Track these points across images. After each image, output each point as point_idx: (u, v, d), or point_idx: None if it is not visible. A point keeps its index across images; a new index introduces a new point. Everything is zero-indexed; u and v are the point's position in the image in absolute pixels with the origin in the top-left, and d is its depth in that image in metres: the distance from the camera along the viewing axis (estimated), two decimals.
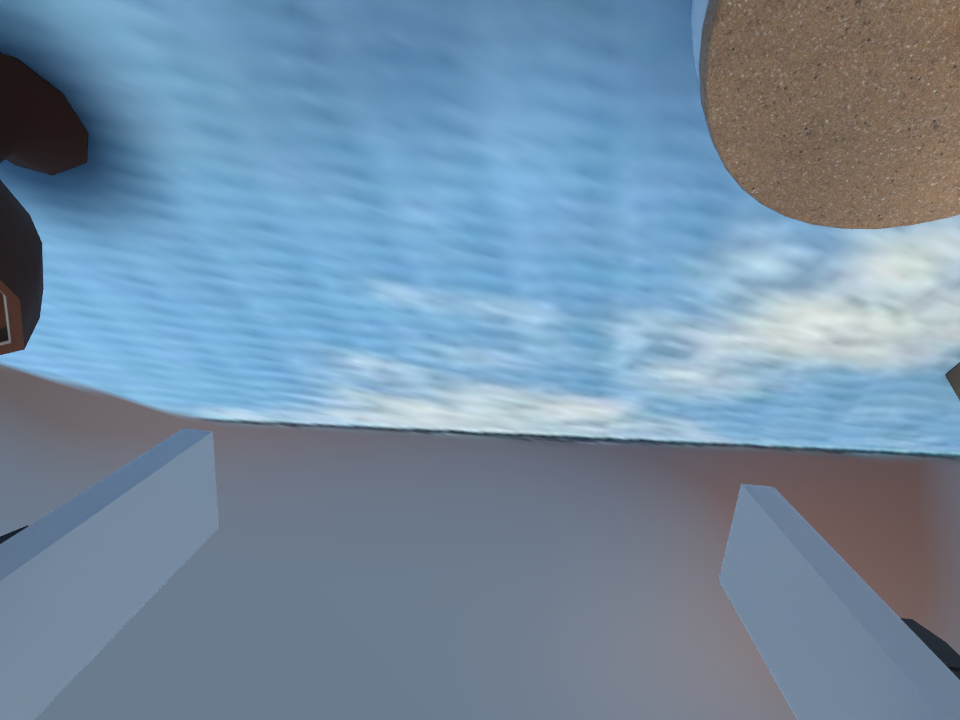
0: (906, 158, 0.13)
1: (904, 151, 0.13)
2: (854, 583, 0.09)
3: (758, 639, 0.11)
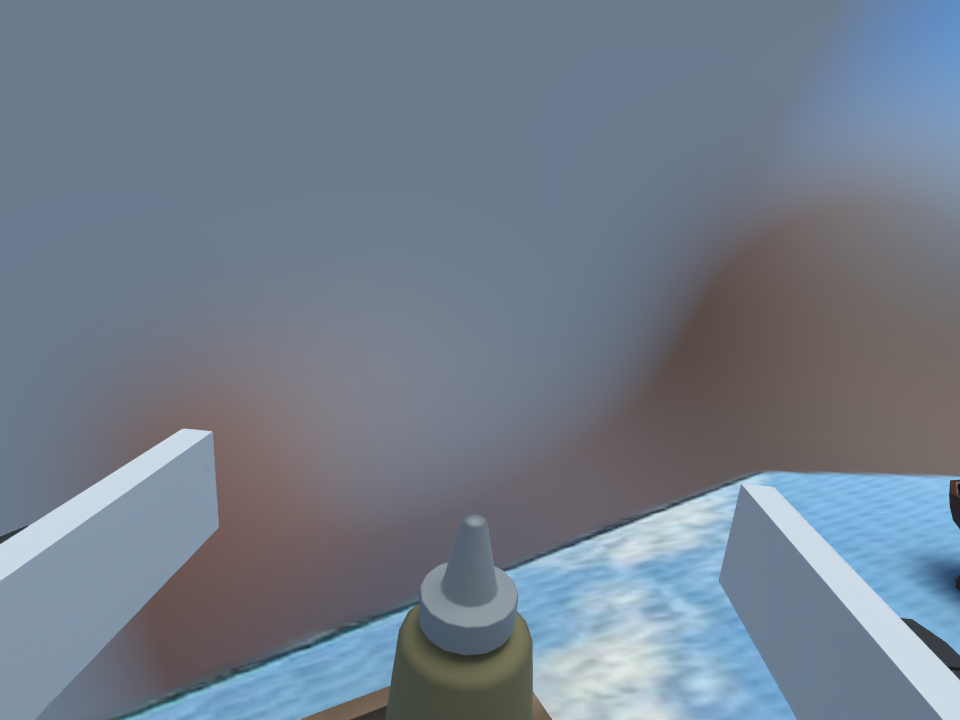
0: None
1: None
2: (854, 583, 0.09)
3: (758, 639, 0.11)
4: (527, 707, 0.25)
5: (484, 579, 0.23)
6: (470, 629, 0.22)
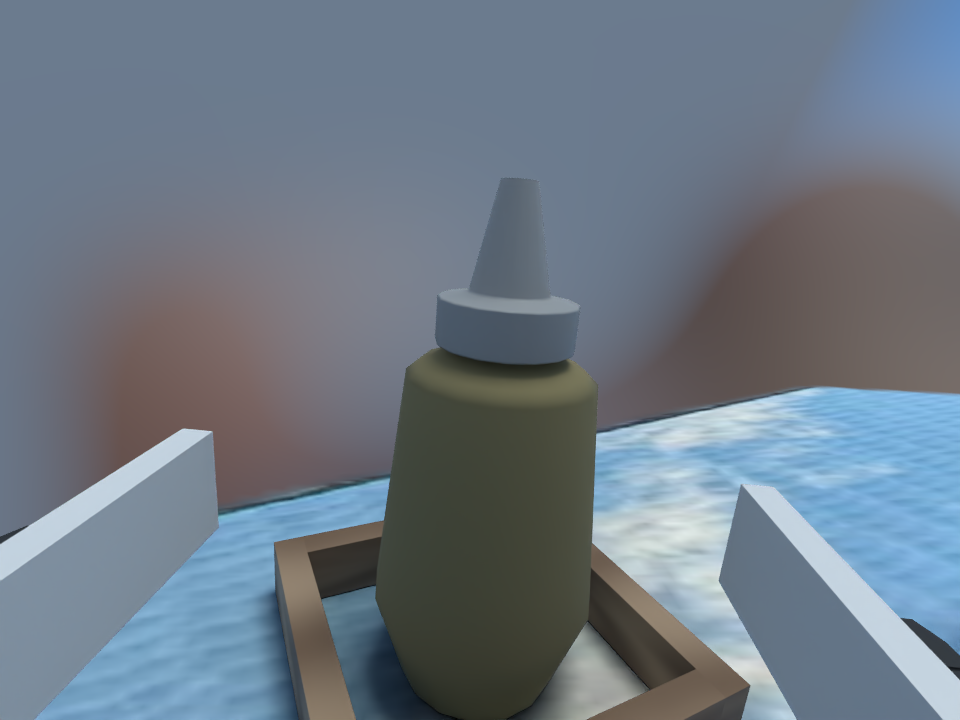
0: None
1: None
2: (854, 583, 0.09)
3: (758, 640, 0.11)
4: (592, 470, 0.17)
5: (534, 261, 0.16)
6: (515, 316, 0.15)
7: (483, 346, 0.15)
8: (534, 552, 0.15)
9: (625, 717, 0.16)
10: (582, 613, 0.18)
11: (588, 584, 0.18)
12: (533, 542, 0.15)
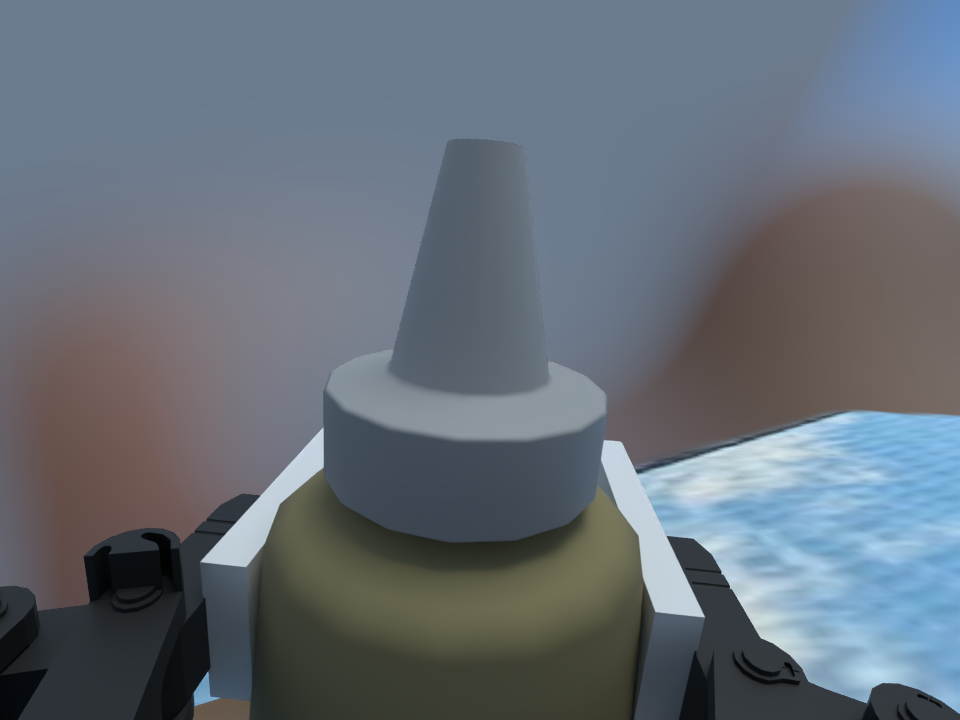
0: None
1: None
2: (642, 507, 0.11)
3: None
4: (632, 715, 0.09)
5: (516, 315, 0.08)
6: (471, 447, 0.07)
7: (403, 506, 0.07)
8: None
9: None
10: None
11: None
12: None
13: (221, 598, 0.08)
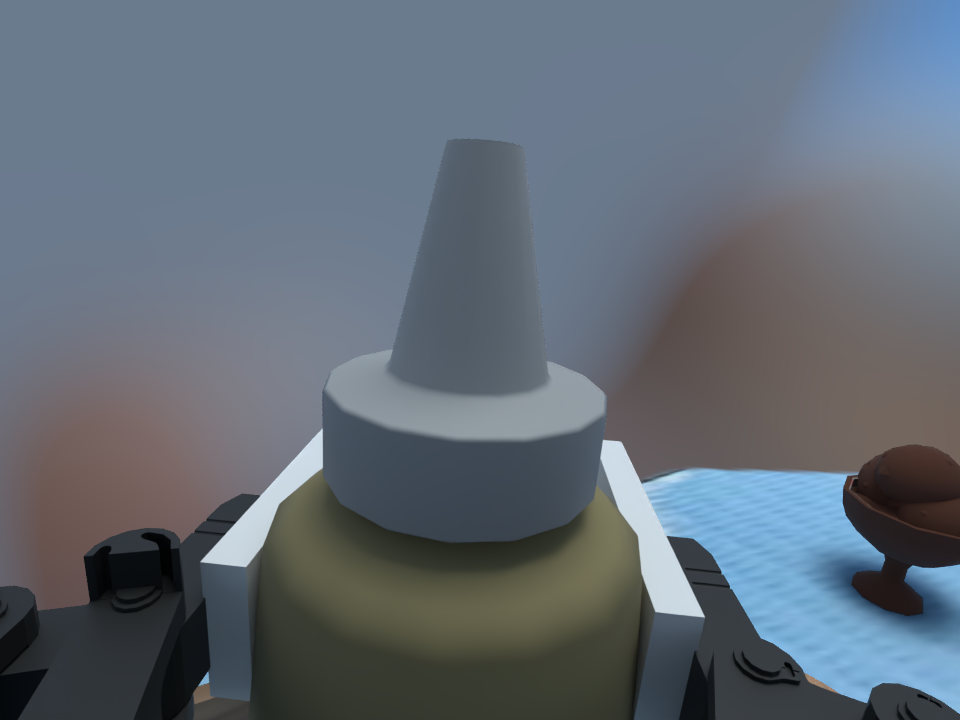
0: None
1: None
2: (642, 507, 0.11)
3: None
4: (631, 716, 0.09)
5: (515, 316, 0.08)
6: (470, 447, 0.07)
7: (402, 506, 0.07)
8: None
9: None
10: None
11: None
12: None
13: (221, 598, 0.08)
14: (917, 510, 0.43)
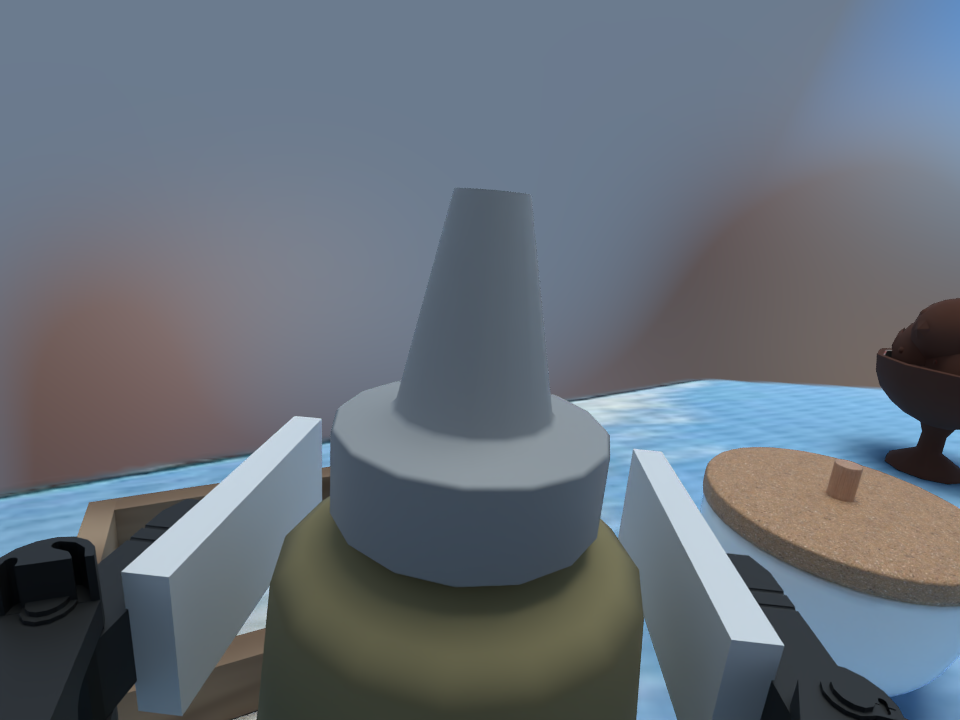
0: (771, 465, 0.25)
1: (777, 466, 0.25)
2: (696, 523, 0.11)
3: None
4: None
5: (521, 361, 0.08)
6: (477, 496, 0.07)
7: (409, 551, 0.07)
8: None
9: None
10: None
11: None
12: None
13: (144, 609, 0.08)
14: None
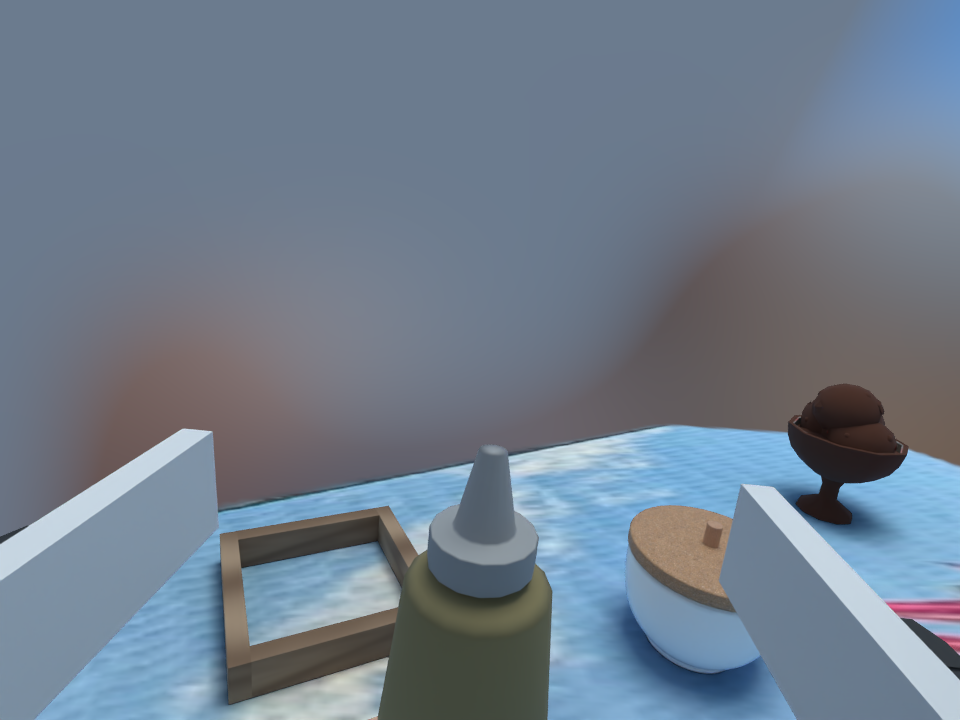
0: (674, 520, 0.38)
1: (677, 521, 0.38)
2: (854, 583, 0.09)
3: (758, 640, 0.11)
4: (545, 663, 0.22)
5: (503, 514, 0.21)
6: (486, 567, 0.20)
7: (462, 585, 0.20)
8: None
9: (377, 617, 0.33)
10: None
11: None
12: None
13: None
14: (842, 433, 0.53)
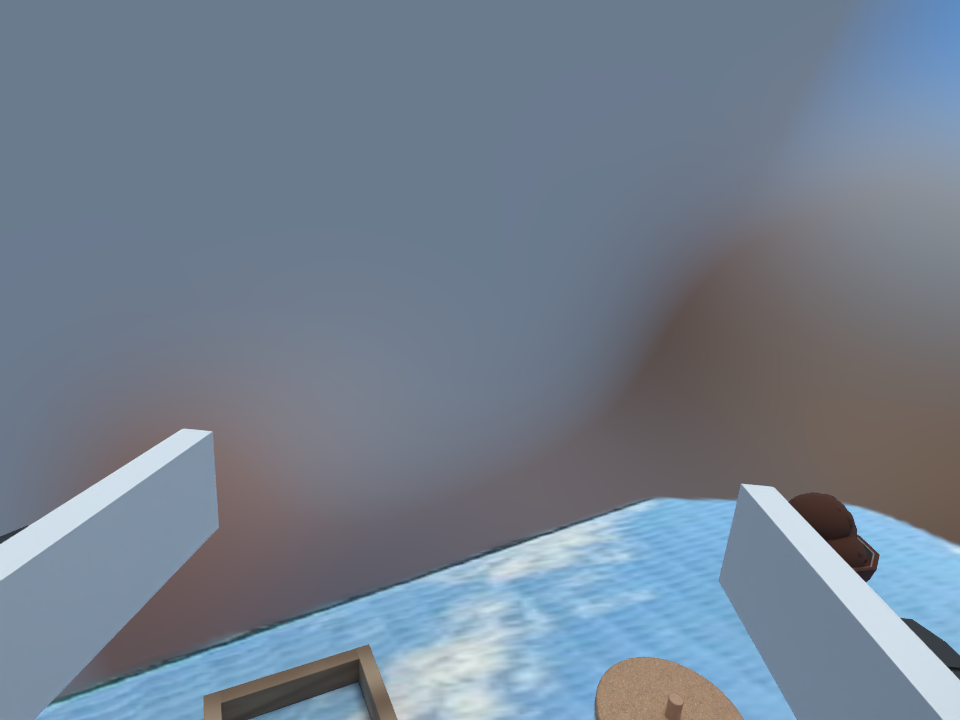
0: (639, 682, 0.40)
1: (643, 683, 0.40)
2: (853, 583, 0.09)
3: (758, 640, 0.11)
4: None
5: None
6: None
7: None
8: None
9: None
10: None
11: None
12: None
13: None
14: None
